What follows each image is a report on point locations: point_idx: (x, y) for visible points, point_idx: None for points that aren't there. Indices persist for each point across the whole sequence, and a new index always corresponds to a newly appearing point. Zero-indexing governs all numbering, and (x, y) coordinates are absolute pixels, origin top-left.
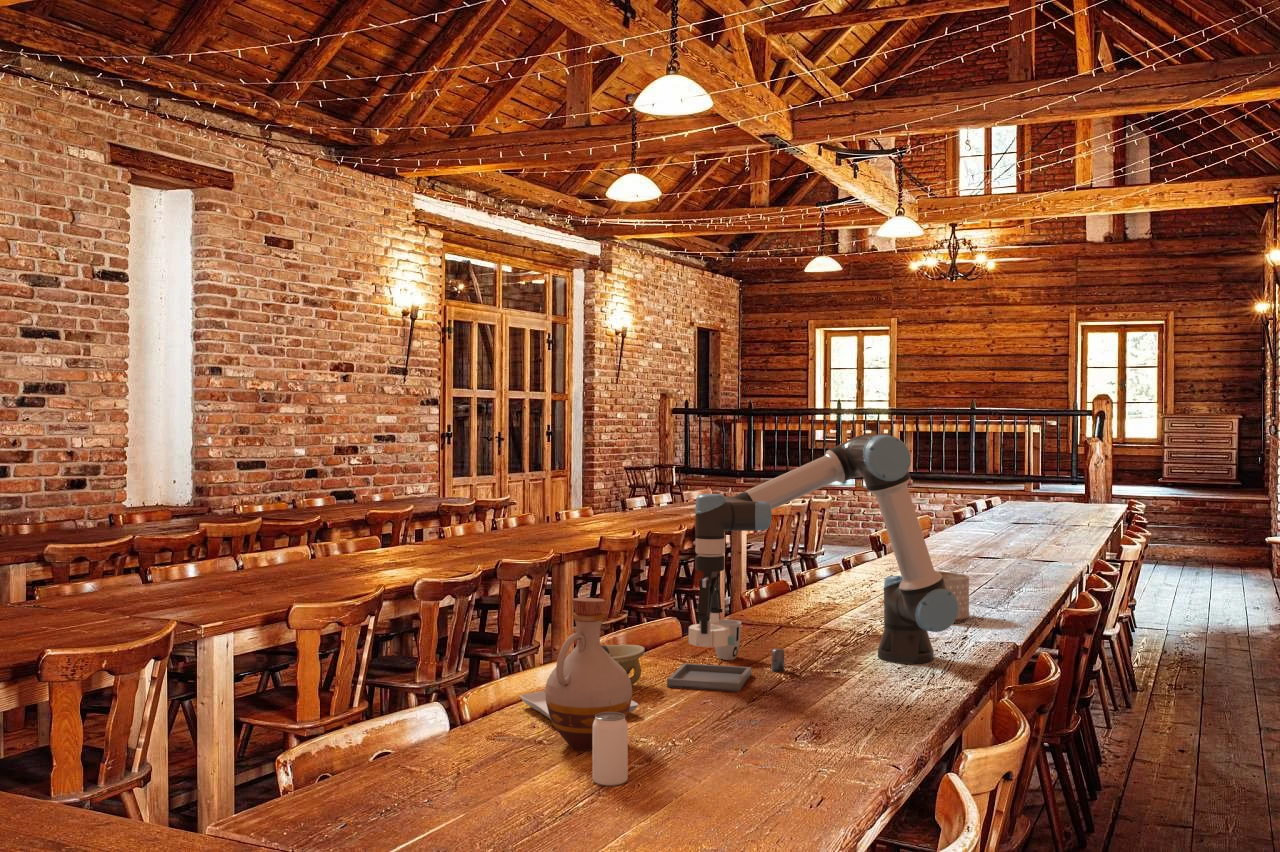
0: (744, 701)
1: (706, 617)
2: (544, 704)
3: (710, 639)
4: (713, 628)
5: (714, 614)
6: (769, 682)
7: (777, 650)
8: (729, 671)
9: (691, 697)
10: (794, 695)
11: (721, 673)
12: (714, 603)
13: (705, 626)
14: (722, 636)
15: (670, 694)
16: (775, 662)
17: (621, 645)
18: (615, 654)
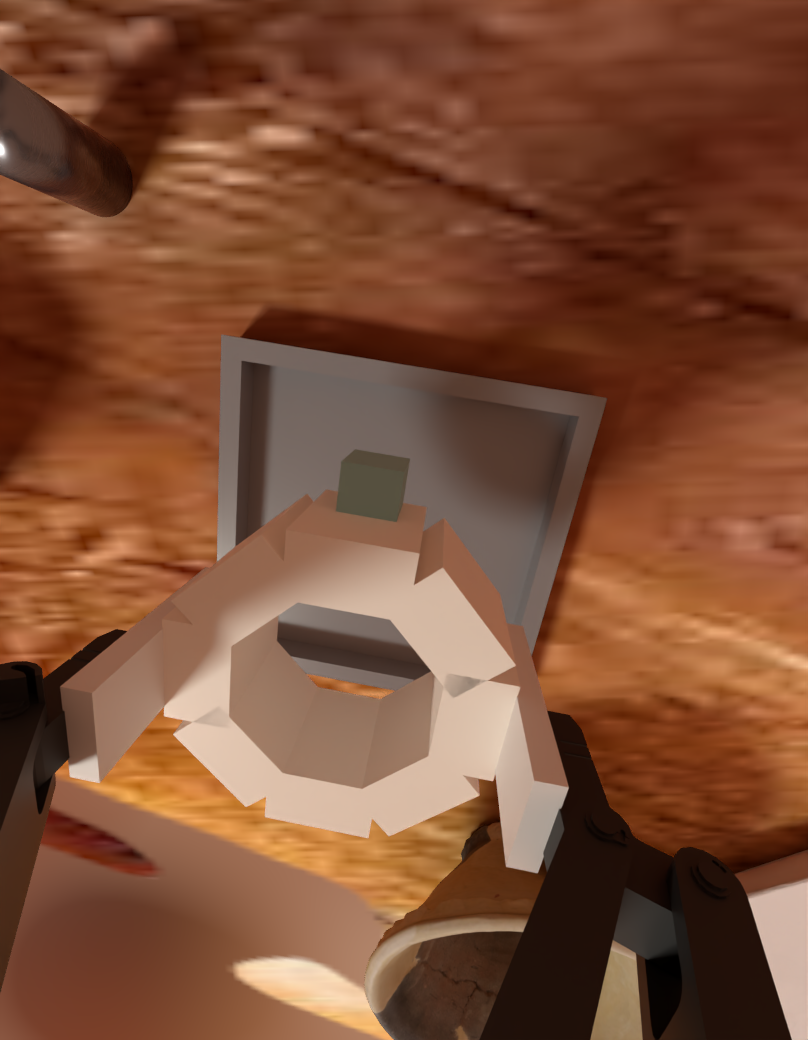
0: (788, 360)
1: (738, 893)
2: (784, 1004)
3: (513, 653)
4: (243, 652)
5: (105, 723)
6: (381, 226)
7: (19, 123)
8: (248, 450)
9: (685, 600)
10: (683, 44)
11: (276, 486)
12: (12, 846)
13: (591, 781)
14: (463, 572)
15: (629, 676)
16: (94, 174)
17: (379, 974)
18: (413, 949)
